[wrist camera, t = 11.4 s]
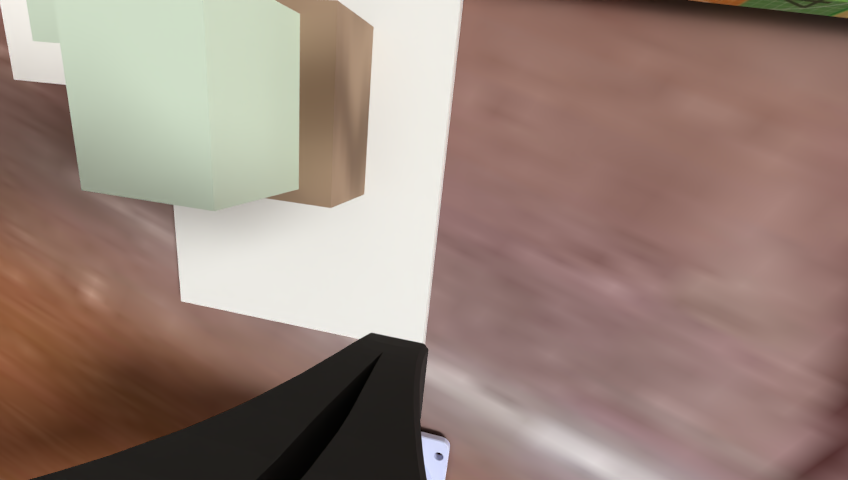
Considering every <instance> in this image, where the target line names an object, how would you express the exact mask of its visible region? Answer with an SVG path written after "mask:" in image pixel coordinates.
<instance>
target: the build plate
mask: <svg viewBox="0 0 848 480" xmlns="http://www.w3.org/2000/svg"><path fill="white" fill-rule="evenodd" d="M338 1H339V2H340V3H342V4H343V5H345V6H346V7H347V8H349V9H350V10H351V11H353V12H354V13H355V14H357V15H358V16H360V17H361V18H362V19H364V20H365V21H366V22H368V23H369V24H370V25H372V26H373V27H374V30H373V48H372V66H371V83H370V101H369V119H368V137H367V155H366V173H365V191H364V195H362V196H359V197H357V198H354V199H352V200H349V201H347V202H345V203H342V204H340V205H337V206H335V207H332V208H327V207H321V206H314V205H307V204H301V203H294V202H287V201H280V200H274V199H267V198H263V199H259V200H256V201H252V202H248V203H244V204H240V205H236V206H233V207H229V208H225V209H221V210H217V211H209V210H203V209H197V208H190V207H184V206H178V205H173V206H174V218H175V230H176V243H177V255H178V267H179V280H180V292H181V301H183V302H188V303H192V304H197V305H202V306H206V307H211V308H216V309H221V310H225V311H230V312H235V313H239V314H244V315H249V316H253V317H258V318H263V319H268V320H272V321H277V322H282V323H286V324H291V325H296V326H301V327H305V328H310V329H315V330H319V331H324V332H329V333H333V334H338V335H343V336H348V337H352V338H357V339H361V338H362V337H364V336H366V335H368V334H369V333H376V334H381V335H386V336H390V337H395V338H400V339H405V340H409V341H414V342H419V343H423V344H425V340H426V331H427V322H428V313H429V304H430V295H431V286H432V277H433V268H434V259H435V250H436V241H437V232H438V223H439V215H440V206H441V197H442V188H443V179H444V170H445V161H446V152H447V143H448V134H449V125H450V116H451V107H452V98H453V89H454V80H455V71H456V62H457V53H458V44H459V35H460V26H461V17H462V8H463V0H338Z"/></svg>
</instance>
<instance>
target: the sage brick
mask: <svg viewBox="0 0 848 480" xmlns="http://www.w3.org/2000/svg"><path fill="white" fill-rule="evenodd" d="M54 6H55V13H56V20H57V27H58V34H59V40H60V47H61V54H62V61H63V68H64V74H65V81H66V88H67V95H68V102H69V108H70V115H71V122H72V129H73V135H74V142H75V149H76V156H77V163H78V169H79V176H80V183H81V190H83V191H89V192H96V193H102V194H108V195H115V196H121V197H127V198H134V199H140V200H146V201H152V202H159V203H165V204H171V205H178V206H184V207H190V208H197V209H203V210H209V211H217V210H221V209H225V208H229V207H233V206H236V205H240V204H244V203H248V202H252V201H256V200H259V199H263V198H267V197H271V196H275V195H279V194H282V193H286V192H290V191H294V190H298V189H299V86H300V14H299V13H298V12H296V11H294V10H292V9H290V8H288V7H286V6H285V5H283V4H281V3H279V2H277V1H275V0H54Z"/></svg>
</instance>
